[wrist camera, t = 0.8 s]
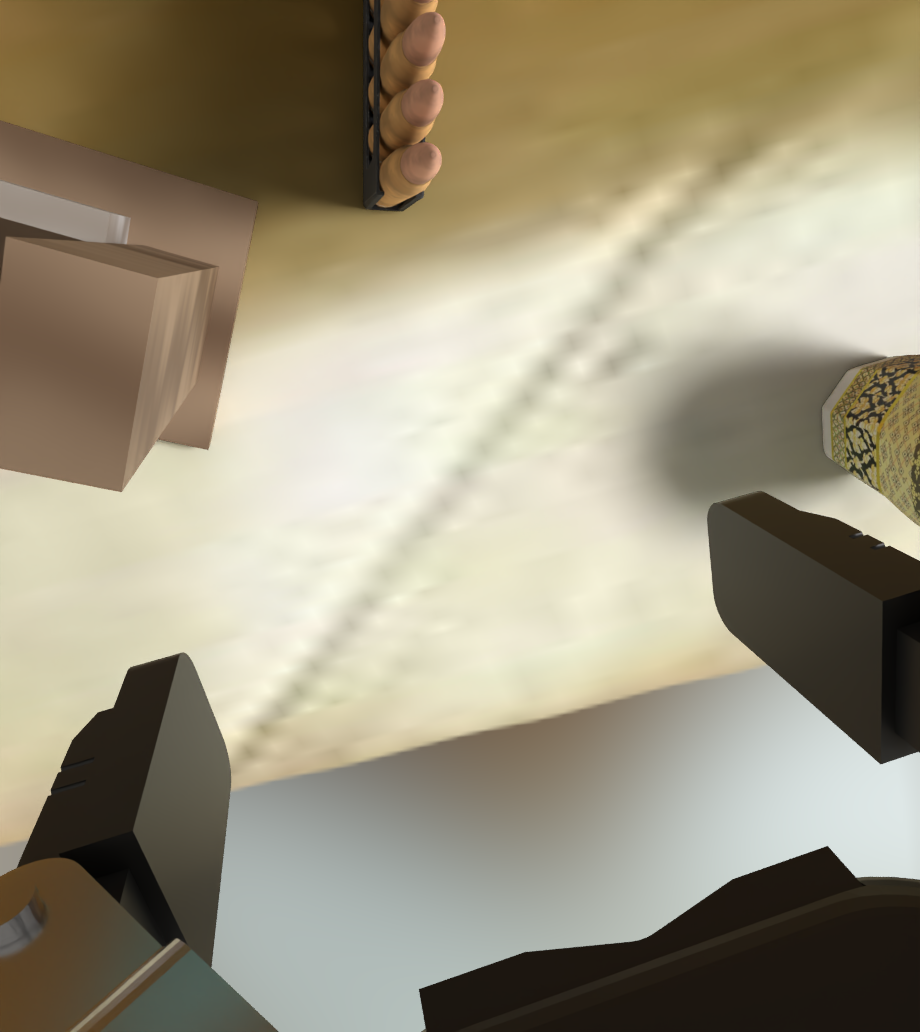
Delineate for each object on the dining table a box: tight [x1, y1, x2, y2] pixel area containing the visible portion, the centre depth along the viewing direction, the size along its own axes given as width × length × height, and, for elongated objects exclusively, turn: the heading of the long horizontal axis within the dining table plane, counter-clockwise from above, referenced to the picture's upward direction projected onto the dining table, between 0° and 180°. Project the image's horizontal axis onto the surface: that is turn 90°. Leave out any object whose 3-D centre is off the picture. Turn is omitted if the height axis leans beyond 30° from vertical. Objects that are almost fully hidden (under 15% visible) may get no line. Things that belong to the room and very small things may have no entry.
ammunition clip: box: [363, 0, 445, 211], centre depth 27 cm, size 11×2×12 cm, turn 178°
